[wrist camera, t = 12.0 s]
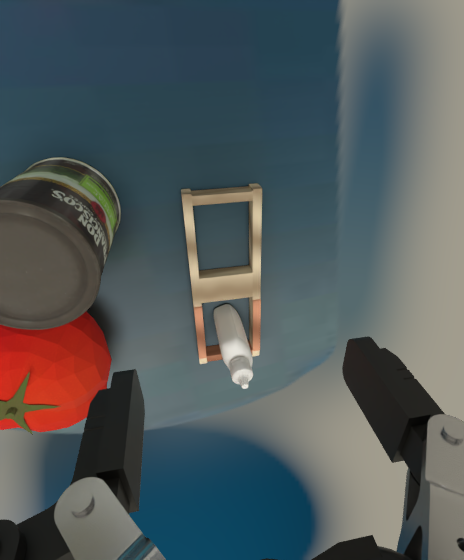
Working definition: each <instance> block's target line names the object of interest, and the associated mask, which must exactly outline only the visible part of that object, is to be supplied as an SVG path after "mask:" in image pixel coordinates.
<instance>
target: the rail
mask: <svg viewBox="0 0 464 560" xmlns="http://www.w3.org/2000/svg"><path fill="white" fill-rule="evenodd" d="M181 195H182V204H183V213H184V223H185V232H186V241H187V250H188V260H189V269H190V278H191V287H192V297H193V306H194V315H195V324H196V333H197V343H198V352H199V360H200V364H203V363H207V362H208V361H215V360H222V359H223V358H222V354H221V350H220V345H213V346H206V345H205V334H204V323H203V313H202V303H206V302H214V301H222V300H230V299H239V298H247V297H249V341H248V344H249V347H250V350H251V353H252V356H259V350H260V317H261V300H260V283H261V222H262V188H261V187H260V185H259V184H258V183H256V184H249V186H246V187H234V188H221V189H208V190H195V191H191V190H190V189H181ZM243 201H249V265H246V266H237V267H228V268H219V269H210V270H200V271H199V270H198V260H197V249H196V238H195V227H194V217H193V206H195V205H207V204H219V203H231V202H243Z"/></svg>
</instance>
